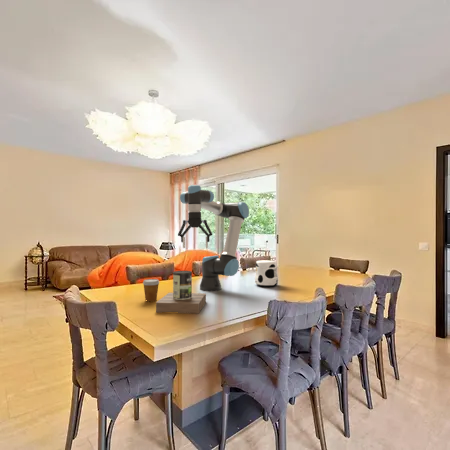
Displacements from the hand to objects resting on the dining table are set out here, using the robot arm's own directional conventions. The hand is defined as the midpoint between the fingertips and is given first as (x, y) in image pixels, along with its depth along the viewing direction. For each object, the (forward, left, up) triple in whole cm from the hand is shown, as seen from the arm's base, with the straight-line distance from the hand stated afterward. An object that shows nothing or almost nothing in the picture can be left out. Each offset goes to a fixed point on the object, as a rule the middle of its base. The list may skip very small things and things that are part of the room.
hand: (195, 247), depth 164 cm
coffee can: (+12, -5, -27) cm, 30 cm away
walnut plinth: (+12, -5, -31) cm, 34 cm away
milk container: (-50, +43, -32) cm, 73 cm away
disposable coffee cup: (+1, -27, -32) cm, 41 cm away
